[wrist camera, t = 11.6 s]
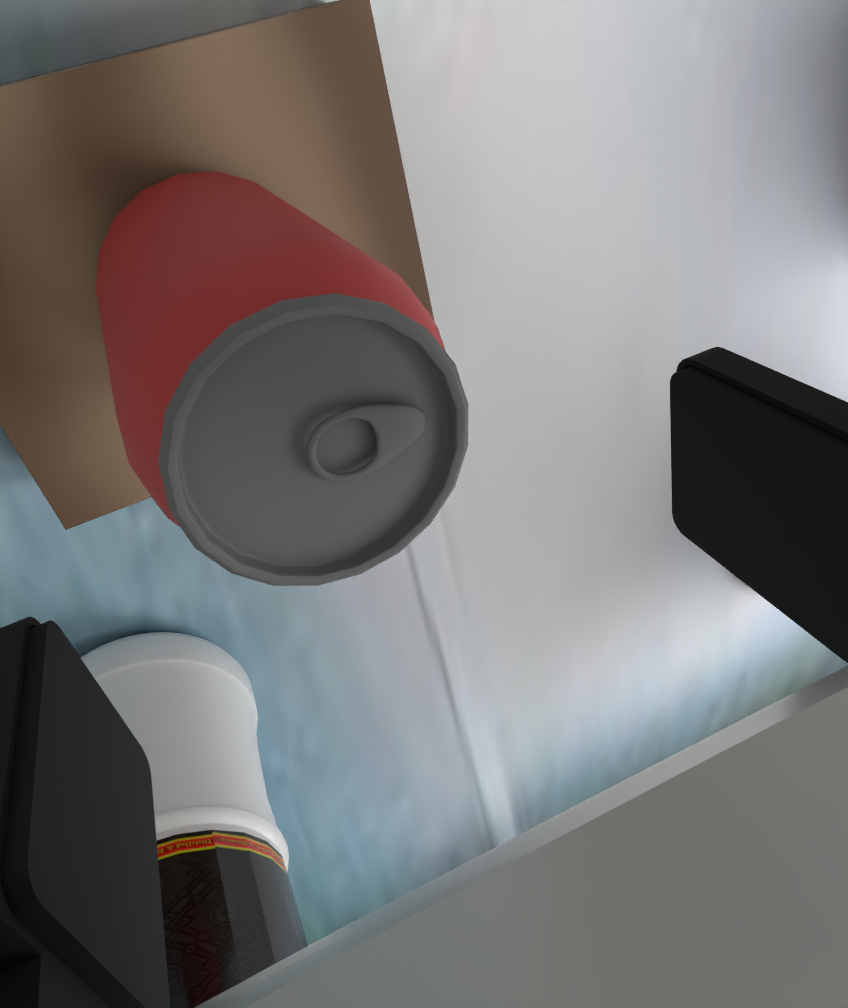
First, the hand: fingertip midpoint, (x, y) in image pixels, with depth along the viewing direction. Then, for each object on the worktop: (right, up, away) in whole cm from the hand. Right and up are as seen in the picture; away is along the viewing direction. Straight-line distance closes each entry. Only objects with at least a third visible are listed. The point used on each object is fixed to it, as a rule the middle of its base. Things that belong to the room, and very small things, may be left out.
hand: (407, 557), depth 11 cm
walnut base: (-8, +9, +15) cm, 19 cm away
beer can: (-6, +7, +12) cm, 15 cm away
